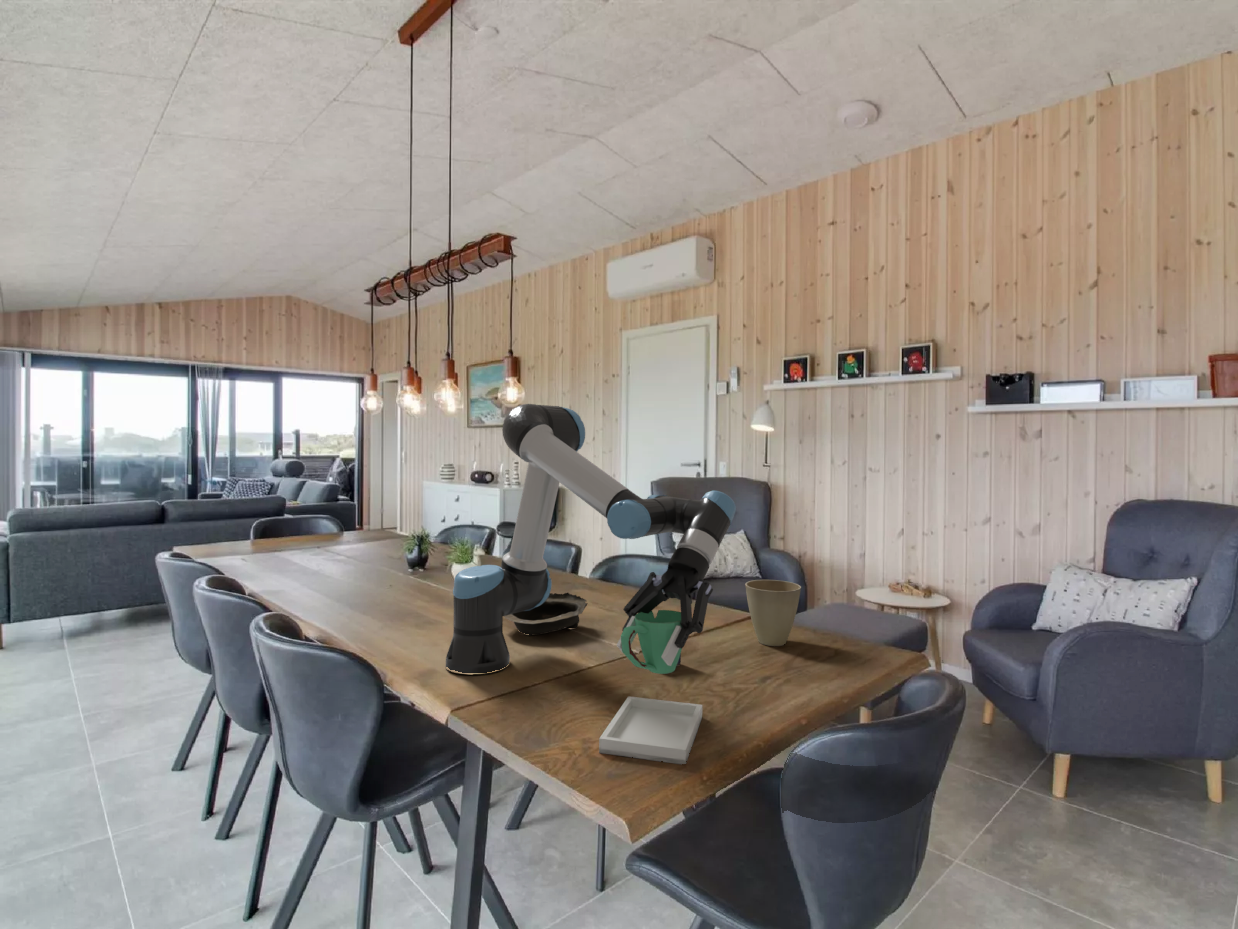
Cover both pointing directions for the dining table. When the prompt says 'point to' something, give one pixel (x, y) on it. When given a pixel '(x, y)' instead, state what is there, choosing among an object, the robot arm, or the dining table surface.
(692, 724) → the cradle tray
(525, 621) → the stone bowl
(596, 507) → the robot arm
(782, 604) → the plant pot
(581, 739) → the dining table surface
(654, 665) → the mug
